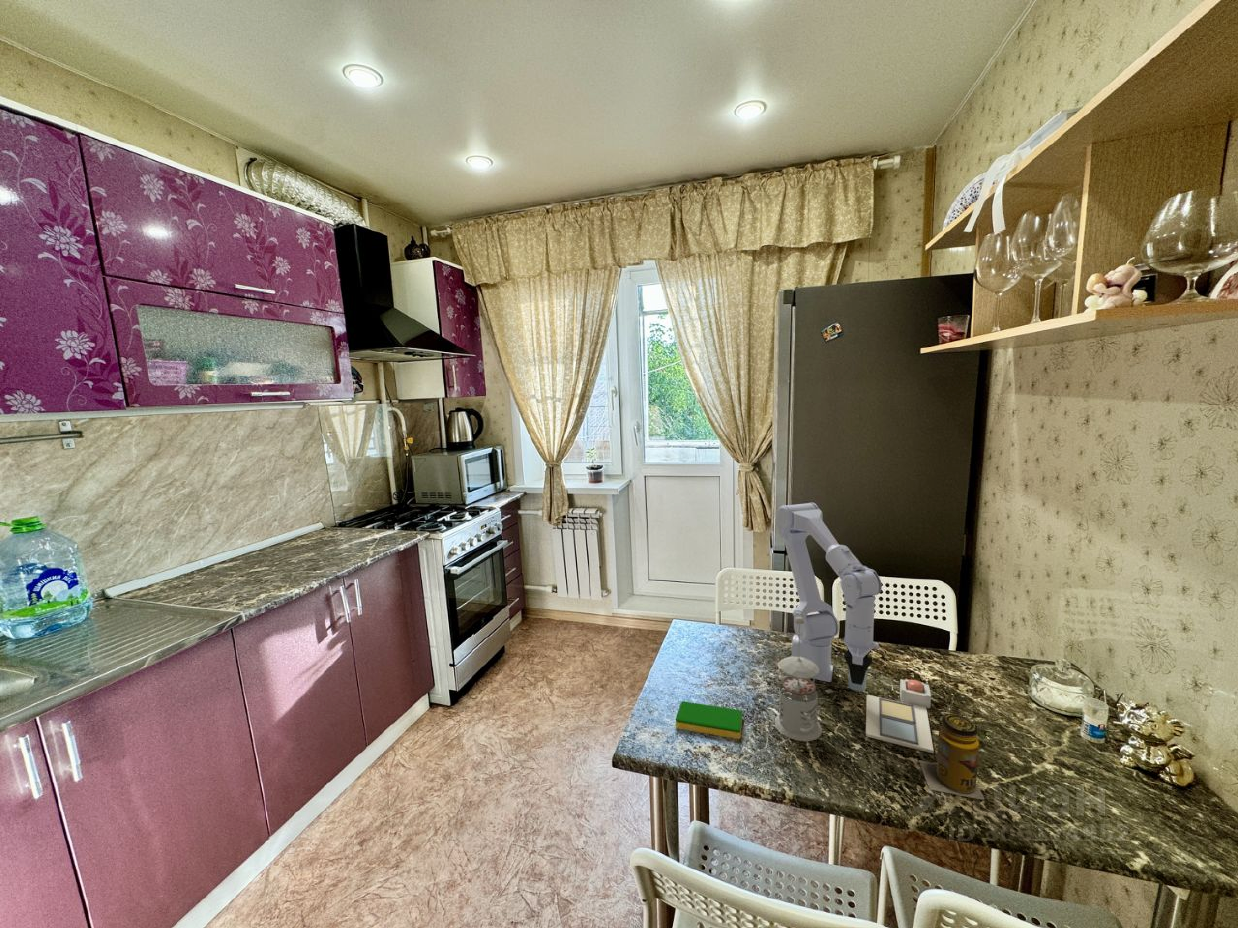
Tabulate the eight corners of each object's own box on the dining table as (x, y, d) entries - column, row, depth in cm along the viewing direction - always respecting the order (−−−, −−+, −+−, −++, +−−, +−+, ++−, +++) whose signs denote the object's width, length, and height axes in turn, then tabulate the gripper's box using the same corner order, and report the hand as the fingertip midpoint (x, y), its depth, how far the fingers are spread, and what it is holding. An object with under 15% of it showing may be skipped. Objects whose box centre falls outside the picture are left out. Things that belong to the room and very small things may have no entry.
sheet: (865, 736, 102) (866, 732, 102) (866, 696, 115) (866, 693, 115) (933, 753, 97) (933, 749, 97) (926, 710, 110) (926, 706, 110)
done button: (907, 697, 113) (908, 685, 113) (907, 690, 116) (907, 678, 115) (922, 700, 112) (923, 688, 111) (921, 693, 114) (922, 681, 114)
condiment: (985, 800, 85) (989, 737, 84) (929, 790, 88) (933, 729, 86) (969, 770, 92) (973, 711, 91) (918, 761, 95) (921, 704, 93)
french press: (766, 727, 106) (767, 618, 103) (789, 702, 114) (790, 601, 111) (811, 748, 99) (813, 632, 96) (832, 719, 108) (834, 612, 104)
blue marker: (847, 688, 111) (848, 660, 110) (848, 680, 114) (849, 652, 113) (865, 693, 109) (867, 664, 108) (866, 684, 113) (867, 656, 112)
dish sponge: (740, 741, 103) (740, 730, 102) (675, 729, 107) (675, 719, 107) (742, 719, 109) (742, 709, 109) (681, 709, 114) (681, 700, 113)
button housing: (901, 702, 113) (901, 690, 112) (899, 689, 118) (900, 677, 117) (930, 709, 110) (931, 697, 110) (928, 695, 115) (928, 683, 115)
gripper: (879, 640, 101) (877, 700, 103) (879, 612, 114) (876, 666, 116) (842, 634, 105) (840, 692, 107) (846, 607, 117) (844, 659, 119)
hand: (857, 678), depth 112 cm, fingers closed on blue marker, 4 cm apart
